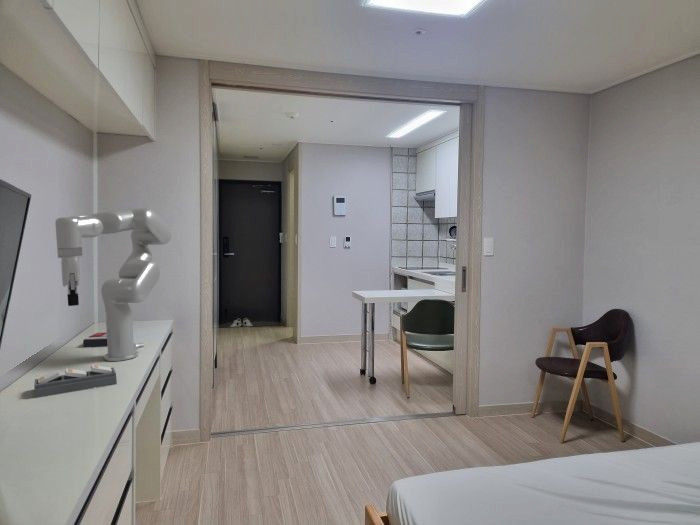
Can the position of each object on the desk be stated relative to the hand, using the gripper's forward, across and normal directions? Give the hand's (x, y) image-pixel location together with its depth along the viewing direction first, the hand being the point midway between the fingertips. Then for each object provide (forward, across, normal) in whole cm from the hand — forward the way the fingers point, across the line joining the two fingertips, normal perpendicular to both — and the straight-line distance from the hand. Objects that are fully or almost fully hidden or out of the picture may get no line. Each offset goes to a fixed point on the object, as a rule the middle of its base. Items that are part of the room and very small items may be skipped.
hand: (73, 305), depth 172 cm
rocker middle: (+20, +14, -1) cm, 25 cm away
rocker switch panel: (+25, +14, -1) cm, 29 cm away
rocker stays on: (+20, +14, -9) cm, 26 cm away
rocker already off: (+20, +14, +6) cm, 26 cm away
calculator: (+26, -47, +12) cm, 55 cm away
